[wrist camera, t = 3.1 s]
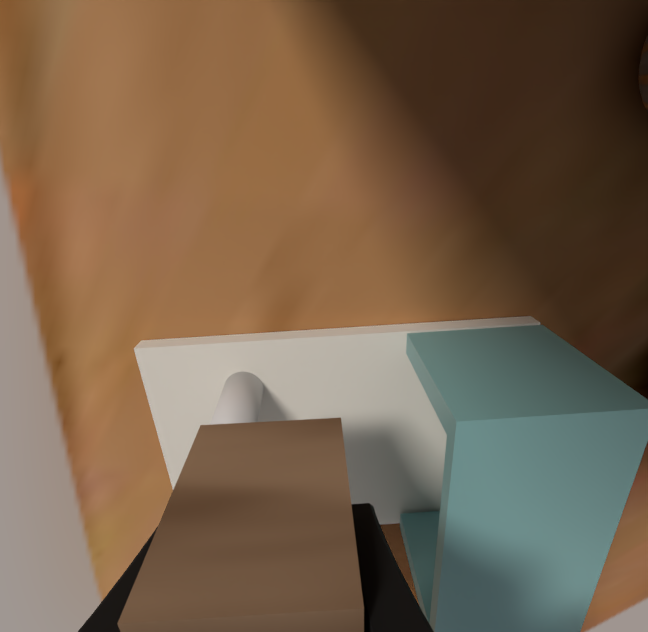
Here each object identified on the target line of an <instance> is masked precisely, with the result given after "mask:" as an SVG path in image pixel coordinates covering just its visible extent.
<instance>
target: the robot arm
mask: <svg viewBox="0 0 648 632" xmlns="http://www.w3.org/2000/svg"><path fill="white" fill-rule="evenodd" d="M351 505H352V513H353V522H354V530H355V538H356V546H357V555H358V563H359V571H360V579H361V588H362V596H363V604H364V632H434V631H433V629H432V627H431V626H430V624H429V622H428V621H427V619H426V617H425V615H424V614H423V612H422V610H421V608H420V607H419V605H418V603H417V601H416V599H415V597H414V596H413V594H412V592H411V590H410V588H409V586H408V584H407V582H406V580H405V578H404V576H403V574H402V573H401V571H400V569H399V567H398V565H397V563H396V561H395V558H394V556H393V554H392V552H391V550H390V548H389V545H388V543H387V541H386V539H385V536H384V534H383V532H382V529H381V527H380V524H379V521H378V519H377V516H376V513H375V510H374V507H373V506H372V505H371V504H370V503H363V504H351ZM157 528H158V527H157ZM157 528H156V530H157ZM156 530H155V531H154V532H153V534H152V535H151V537H150V538H149V539H148V541H147V542H146V544H145V545H144V546H143V548H142V549H141V551H140V552H139V553H138V555H137V556H136V557H135V559H134V560H133V561H132V563H131V564H130V566H129V567H128V568H127V570H126V571H125V572H124V574H123V575H122V576H121V578H120V579H119V580H118V581H117V583H116V584H115V585H114V587H113V588H112V589H111V591H110V592H109V593H108V595H107V596H106V597H105V598H104V600H103V601H102V602H101V604H100V605H99V606H98V608H97V609H96V610H95V611H94V613H93V614H92V615H91V616H90V618H89V619H88V620H87V621H86V622H85V624H84V625H83V626H82V627H81V628H80V630H79V631H78V632H120V629H119V627H118V624H117V623H118V621H119V619H120V616H121V614H122V611H123V609H124V607H125V604H126V602H127V599H128V597H129V595H130V592H131V590H132V588H133V585H134V583H135V580H136V578H137V576H138V573H139V571H140V568H141V566H142V564H143V561H144V559H145V556H146V554H147V552H148V549H149V547H150V545H151V542H152V540H153V537H154V535H155V533H156Z"/></svg>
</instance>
